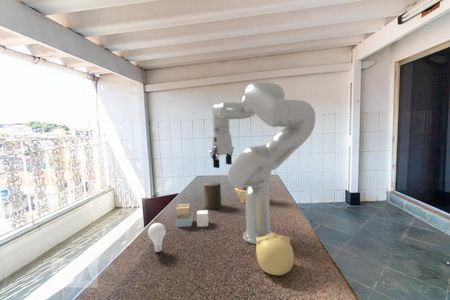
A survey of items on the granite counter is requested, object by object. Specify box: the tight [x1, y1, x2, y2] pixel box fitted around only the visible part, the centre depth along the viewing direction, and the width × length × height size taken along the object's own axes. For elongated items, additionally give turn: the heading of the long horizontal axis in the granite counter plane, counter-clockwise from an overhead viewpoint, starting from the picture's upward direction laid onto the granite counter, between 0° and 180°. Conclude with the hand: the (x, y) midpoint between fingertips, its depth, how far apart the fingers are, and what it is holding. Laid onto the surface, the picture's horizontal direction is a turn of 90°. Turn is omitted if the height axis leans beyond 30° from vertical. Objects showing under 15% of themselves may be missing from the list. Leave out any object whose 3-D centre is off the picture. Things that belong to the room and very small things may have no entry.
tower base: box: [175, 212, 194, 228], centre depth 112 cm, size 7×7×4 cm
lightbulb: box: [147, 222, 166, 253], centre depth 87 cm, size 6×6×11 cm
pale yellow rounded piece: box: [255, 232, 295, 276], centre depth 73 cm, size 11×12×11 cm
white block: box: [196, 209, 209, 228], centre depth 110 cm, size 5×5×6 cm
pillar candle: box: [203, 181, 222, 211], centre depth 133 cm, size 10×10×15 cm
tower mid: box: [175, 203, 192, 219], centre depth 111 cm, size 6×6×5 cm
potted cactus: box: [234, 187, 247, 204], centre depth 141 cm, size 15×15×25 cm
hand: (222, 165), depth 112 cm, fingers open, 9 cm apart
